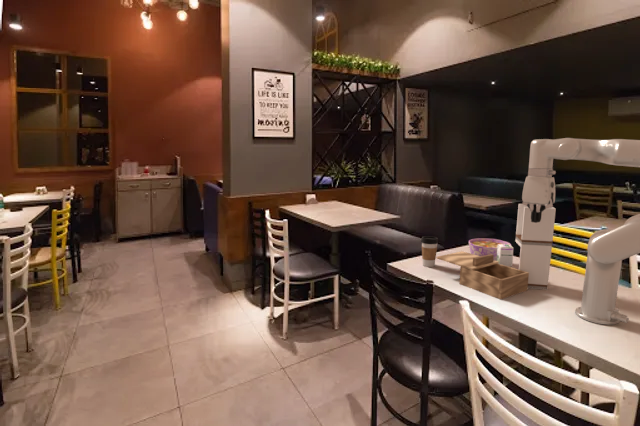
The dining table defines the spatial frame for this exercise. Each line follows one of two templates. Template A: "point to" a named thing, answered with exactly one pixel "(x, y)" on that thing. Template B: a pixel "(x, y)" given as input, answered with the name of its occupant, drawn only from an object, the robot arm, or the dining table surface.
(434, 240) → the coffee cup
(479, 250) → the bowl of food
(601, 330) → the dining table surface
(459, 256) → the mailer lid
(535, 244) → the tall white box
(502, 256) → the syrup box
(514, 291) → the wooden box
